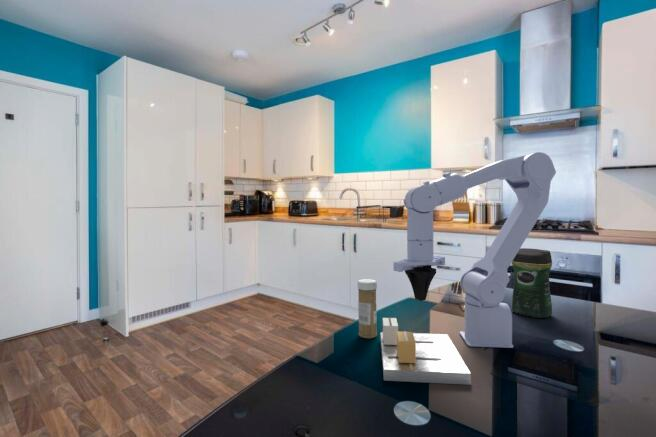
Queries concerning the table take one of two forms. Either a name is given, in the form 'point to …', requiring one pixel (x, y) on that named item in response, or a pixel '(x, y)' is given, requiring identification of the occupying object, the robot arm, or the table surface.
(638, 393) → the table surface
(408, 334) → the fader knob orange
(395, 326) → the fader knob white
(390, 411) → the table surface
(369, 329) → the sprinkles bottle
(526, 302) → the coffee jar
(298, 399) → the table surface
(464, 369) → the fader panel
